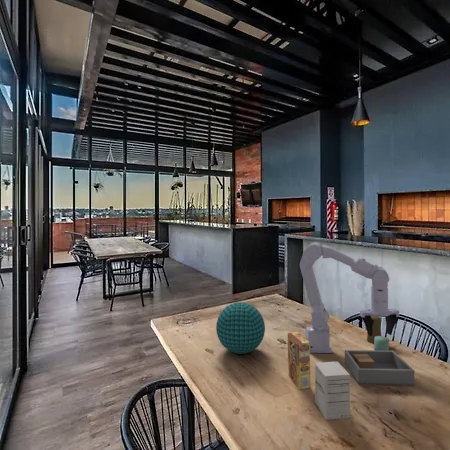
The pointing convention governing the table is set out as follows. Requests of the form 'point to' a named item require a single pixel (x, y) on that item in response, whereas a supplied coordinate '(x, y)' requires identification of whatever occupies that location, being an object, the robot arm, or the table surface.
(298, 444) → the table surface
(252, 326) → the decorative ball
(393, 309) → the robot arm
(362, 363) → the walnut cube
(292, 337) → the candy box
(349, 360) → the tote
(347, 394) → the supplement box
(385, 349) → the teal cylinder
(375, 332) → the cork
